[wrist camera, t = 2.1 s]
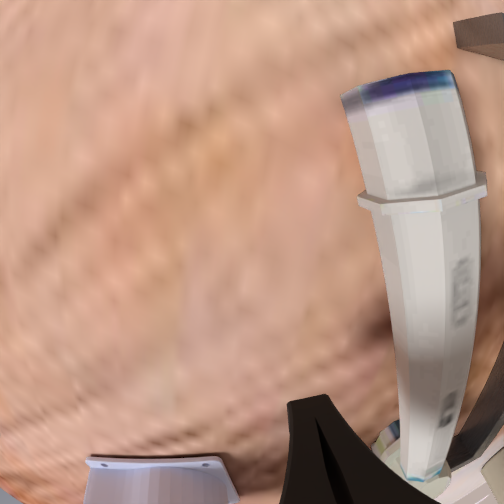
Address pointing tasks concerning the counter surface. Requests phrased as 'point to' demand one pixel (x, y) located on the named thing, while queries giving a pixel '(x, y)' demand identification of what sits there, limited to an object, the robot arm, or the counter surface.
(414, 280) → the white handheld device
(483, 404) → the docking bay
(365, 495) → the robot arm
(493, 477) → the travel mug
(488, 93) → the counter surface
